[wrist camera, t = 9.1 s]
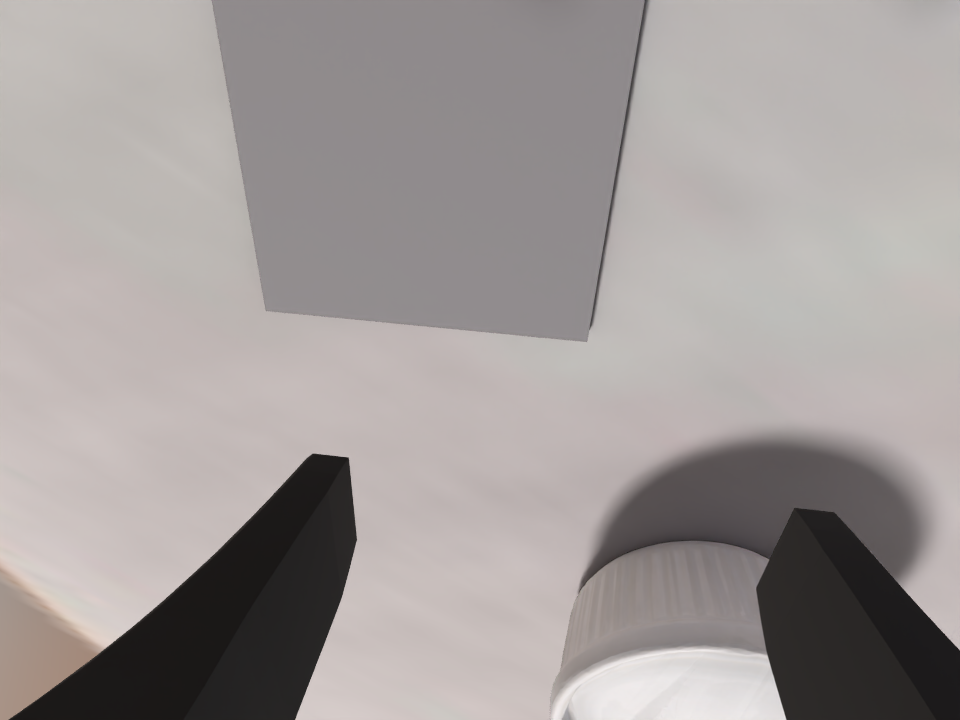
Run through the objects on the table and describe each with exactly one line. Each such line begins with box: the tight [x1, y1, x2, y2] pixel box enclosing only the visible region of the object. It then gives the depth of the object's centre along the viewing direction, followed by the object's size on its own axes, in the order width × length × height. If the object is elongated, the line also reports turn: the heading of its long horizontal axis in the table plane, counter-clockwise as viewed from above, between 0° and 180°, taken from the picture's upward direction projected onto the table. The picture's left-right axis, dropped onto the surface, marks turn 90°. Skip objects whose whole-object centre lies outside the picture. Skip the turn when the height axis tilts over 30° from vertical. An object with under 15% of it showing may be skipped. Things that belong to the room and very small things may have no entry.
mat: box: [212, 0, 645, 342], centre depth 17 cm, size 10×10×1 cm
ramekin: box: [550, 541, 786, 720], centre depth 24 cm, size 11×11×5 cm
